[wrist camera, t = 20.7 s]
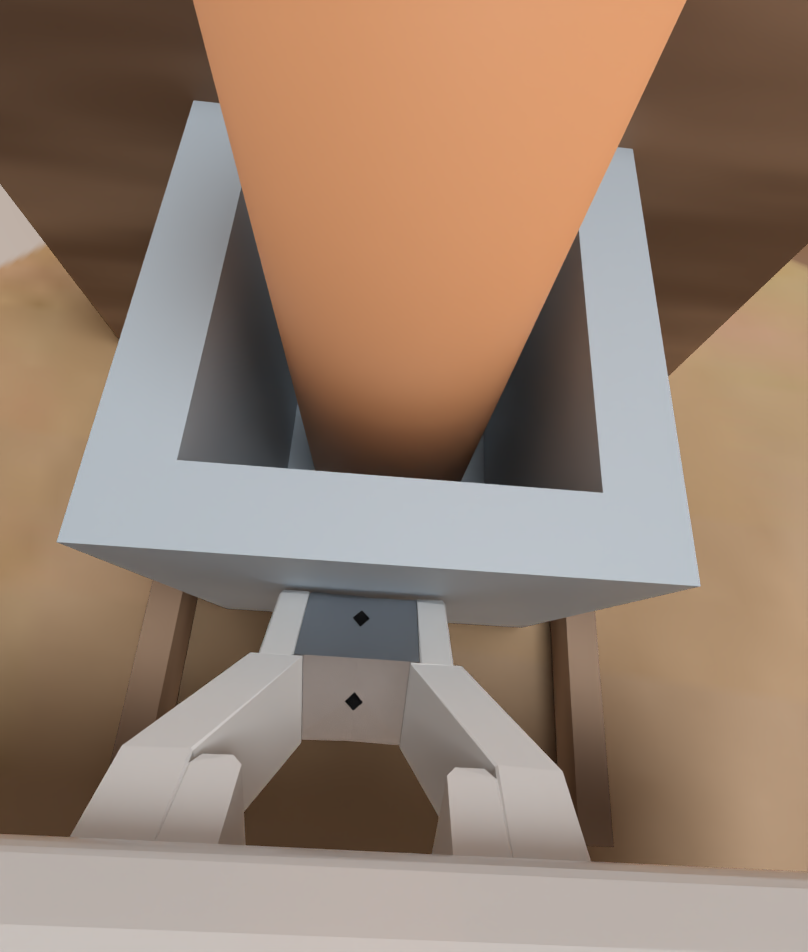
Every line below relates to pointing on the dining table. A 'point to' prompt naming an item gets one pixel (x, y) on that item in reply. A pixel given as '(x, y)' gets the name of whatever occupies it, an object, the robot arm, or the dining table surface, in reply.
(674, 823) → the dining table surface
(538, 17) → the dowel
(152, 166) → the backstop wall
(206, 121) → the socket block
